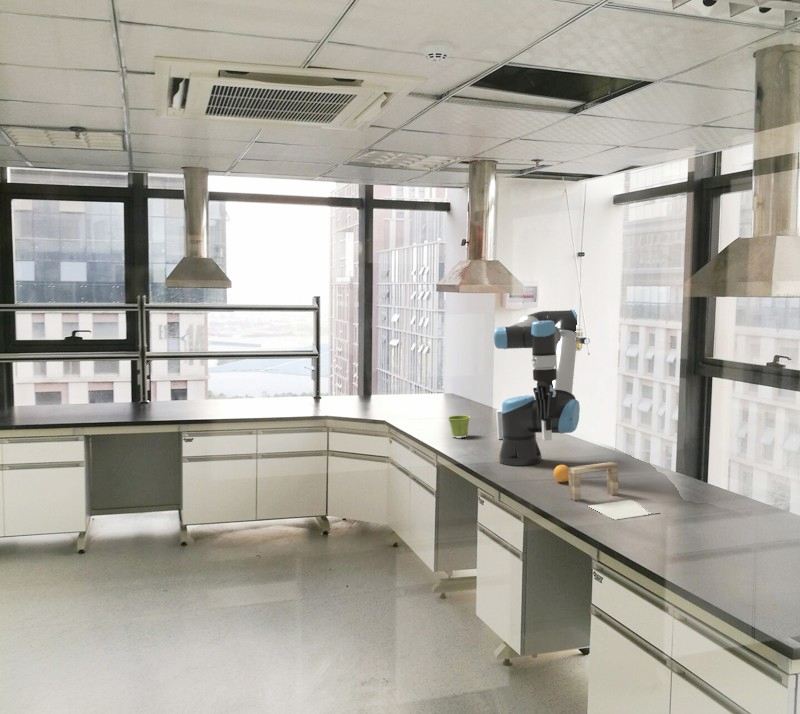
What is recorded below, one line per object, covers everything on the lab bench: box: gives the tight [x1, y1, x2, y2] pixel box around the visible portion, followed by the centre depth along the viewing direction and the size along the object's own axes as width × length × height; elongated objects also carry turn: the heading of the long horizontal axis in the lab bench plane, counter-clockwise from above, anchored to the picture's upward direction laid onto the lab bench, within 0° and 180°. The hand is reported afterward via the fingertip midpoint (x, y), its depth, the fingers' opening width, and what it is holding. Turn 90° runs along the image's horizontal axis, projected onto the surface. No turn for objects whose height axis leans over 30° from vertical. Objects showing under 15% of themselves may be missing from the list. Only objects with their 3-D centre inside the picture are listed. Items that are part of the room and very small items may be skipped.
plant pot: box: [447, 414, 471, 436], centre depth 321 cm, size 9×9×9 cm
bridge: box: [568, 461, 620, 501], centre depth 221 cm, size 3×14×9 cm, turn 106°
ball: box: [552, 464, 569, 483], centre depth 239 cm, size 6×6×6 cm
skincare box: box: [495, 409, 503, 440], centre depth 313 cm, size 6×4×12 cm
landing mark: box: [587, 499, 651, 521], centre depth 207 cm, size 14×14×1 cm
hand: (547, 439), depth 247 cm, fingers closed
